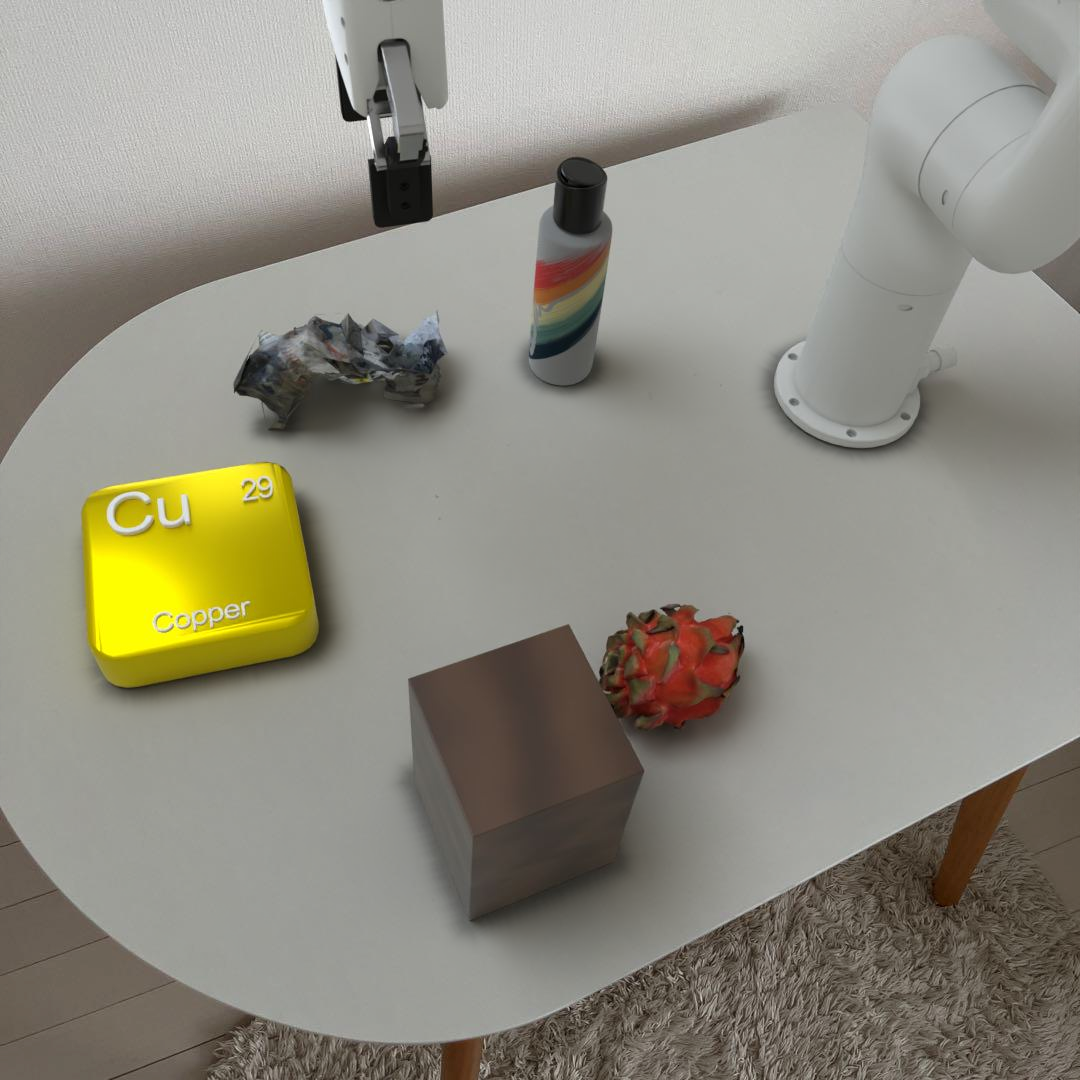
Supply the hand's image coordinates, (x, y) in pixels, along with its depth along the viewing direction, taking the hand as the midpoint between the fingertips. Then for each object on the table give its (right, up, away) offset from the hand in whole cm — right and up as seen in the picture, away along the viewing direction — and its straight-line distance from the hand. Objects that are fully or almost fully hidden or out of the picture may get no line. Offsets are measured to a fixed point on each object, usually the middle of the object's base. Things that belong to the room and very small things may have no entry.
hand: (385, 166), depth 63 cm
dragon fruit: (+18, -32, +16) cm, 40 cm away
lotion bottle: (+10, -6, +35) cm, 37 cm away
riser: (+7, -40, +10) cm, 41 cm away
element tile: (-16, -25, +19) cm, 35 cm away
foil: (-7, -9, +31) cm, 33 cm away
